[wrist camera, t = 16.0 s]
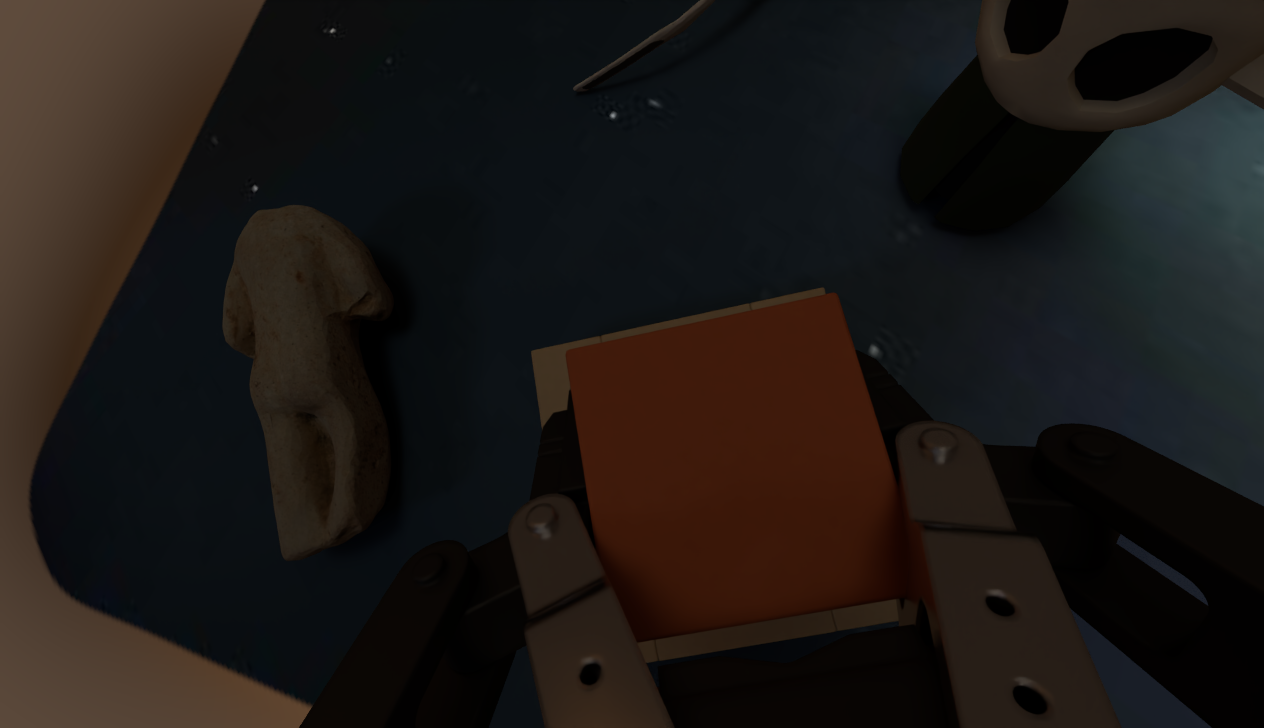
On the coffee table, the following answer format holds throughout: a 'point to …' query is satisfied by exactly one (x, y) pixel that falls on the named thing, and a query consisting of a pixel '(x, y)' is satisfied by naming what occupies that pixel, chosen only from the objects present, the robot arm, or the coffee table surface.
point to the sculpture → (311, 371)
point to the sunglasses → (646, 46)
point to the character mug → (1070, 94)
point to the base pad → (555, 398)
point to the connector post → (737, 471)
